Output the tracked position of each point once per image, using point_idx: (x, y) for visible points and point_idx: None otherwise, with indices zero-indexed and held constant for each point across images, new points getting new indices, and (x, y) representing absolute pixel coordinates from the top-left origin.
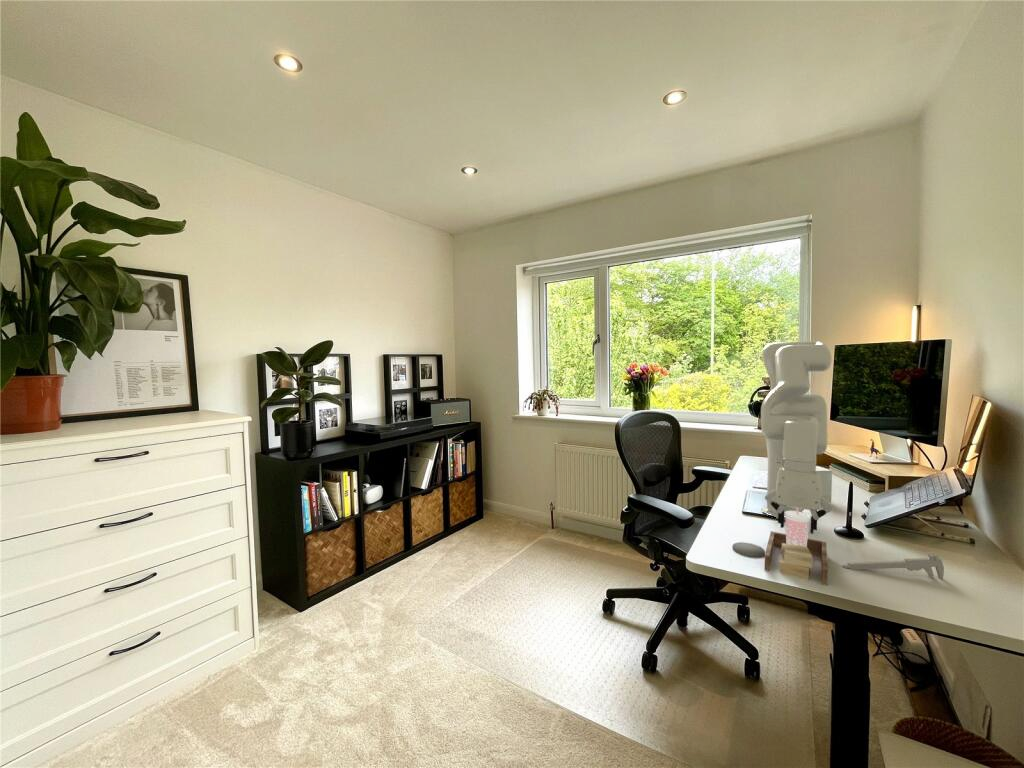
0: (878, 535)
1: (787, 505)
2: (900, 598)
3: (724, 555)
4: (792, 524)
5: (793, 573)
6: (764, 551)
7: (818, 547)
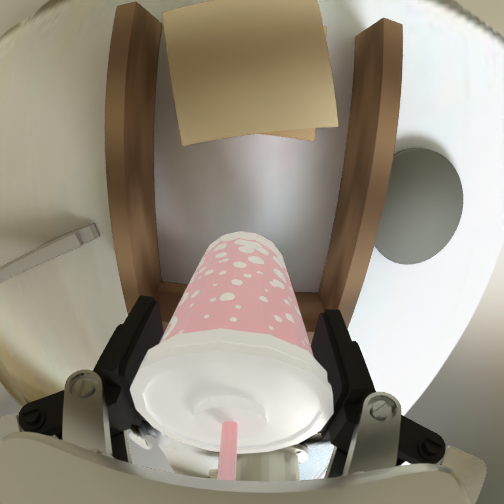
0: None
1: (357, 485)
2: (2, 102)
3: (481, 128)
4: (271, 317)
5: None
6: None
7: (161, 304)
